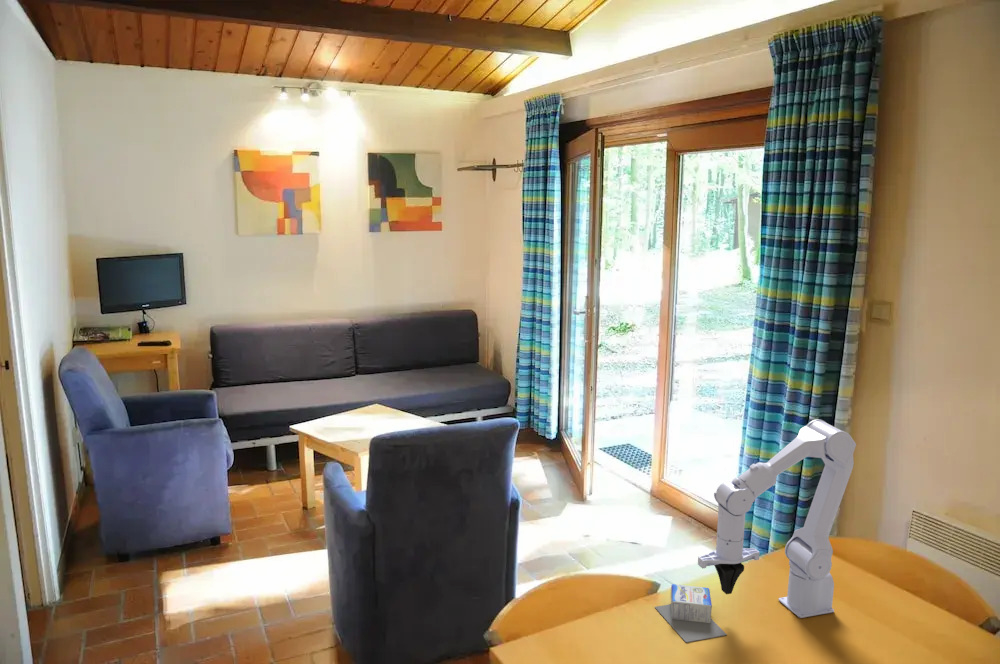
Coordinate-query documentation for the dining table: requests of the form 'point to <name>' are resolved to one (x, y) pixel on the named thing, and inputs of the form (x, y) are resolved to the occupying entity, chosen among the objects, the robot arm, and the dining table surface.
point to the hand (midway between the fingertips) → (726, 591)
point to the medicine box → (691, 603)
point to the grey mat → (691, 627)
